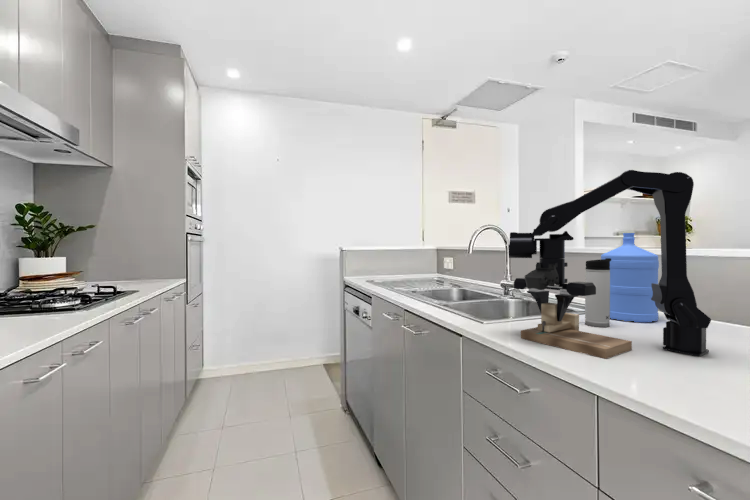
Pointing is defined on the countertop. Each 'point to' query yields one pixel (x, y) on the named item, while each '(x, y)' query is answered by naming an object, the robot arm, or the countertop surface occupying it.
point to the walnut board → (579, 342)
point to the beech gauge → (550, 319)
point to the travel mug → (598, 293)
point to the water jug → (632, 282)
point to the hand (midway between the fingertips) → (551, 319)
